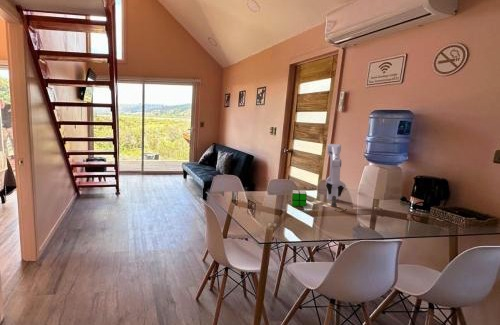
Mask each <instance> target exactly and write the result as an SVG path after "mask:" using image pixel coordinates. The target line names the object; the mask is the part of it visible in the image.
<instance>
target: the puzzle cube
mask: <svg viewBox="0 0 500 325" xmlns="http://www.w3.org/2000/svg"><path fill="white" fill-rule="evenodd" d="M306 206H307V191H306V190H295V189H294V190H291V207H292V208H299V207H306Z"/></svg>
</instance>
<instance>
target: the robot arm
mask: <svg viewBox="0 0 500 325" xmlns="http://www.w3.org/2000/svg"><path fill="white" fill-rule="evenodd" d="M341 152H342V145H341V144H340V143H328V144H327V155H328V156H329V158H330V160H329V161H330V162H329V167H330V168H329V176H328V177H327V178H326V180H325V188H326V190H327V191H326V200H328V201H332V197H333V196H336V201H337V200H341V199H339V198H340V197H341V195H342V192H343V191H344V189H345V188H346V184H345V183H342V182H340V176H341V168H342V159H341V155H340V154H341Z"/></svg>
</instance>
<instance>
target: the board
mask: <svg viewBox="0 0 500 325" xmlns="http://www.w3.org/2000/svg"><path fill="white" fill-rule="evenodd" d="M309 203H310V204H315V205H318V206H323V207H326V208H330V209H334V211H336V212H343V211H345V210H348V207H344V206H342V205H338V204H336V205H337V207H331V204H332V203H329V202H325V201H321V200H314V201H310V202H309Z"/></svg>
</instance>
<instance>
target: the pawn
mask: <svg viewBox="0 0 500 325" xmlns="http://www.w3.org/2000/svg"><path fill="white" fill-rule="evenodd" d="M330 204H331V207H336V208H337V205H338V204H337V200H336V196H333V197H332V200H331V203H330Z"/></svg>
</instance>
